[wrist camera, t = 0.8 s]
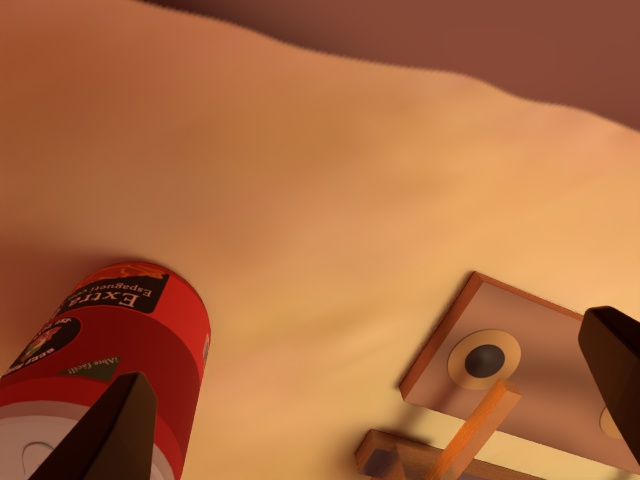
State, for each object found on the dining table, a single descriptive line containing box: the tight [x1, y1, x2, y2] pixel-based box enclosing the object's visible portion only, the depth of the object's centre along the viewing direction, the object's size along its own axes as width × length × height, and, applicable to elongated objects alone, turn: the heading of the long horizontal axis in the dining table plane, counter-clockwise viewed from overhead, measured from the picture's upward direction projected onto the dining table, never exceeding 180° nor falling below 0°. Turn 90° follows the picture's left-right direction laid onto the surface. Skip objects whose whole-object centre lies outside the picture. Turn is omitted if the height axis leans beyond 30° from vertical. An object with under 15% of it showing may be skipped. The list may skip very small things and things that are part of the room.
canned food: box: [0, 262, 211, 480], centre depth 20 cm, size 8×8×11 cm
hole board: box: [399, 272, 640, 475], centre depth 30 cm, size 9×27×1 cm, turn 65°
